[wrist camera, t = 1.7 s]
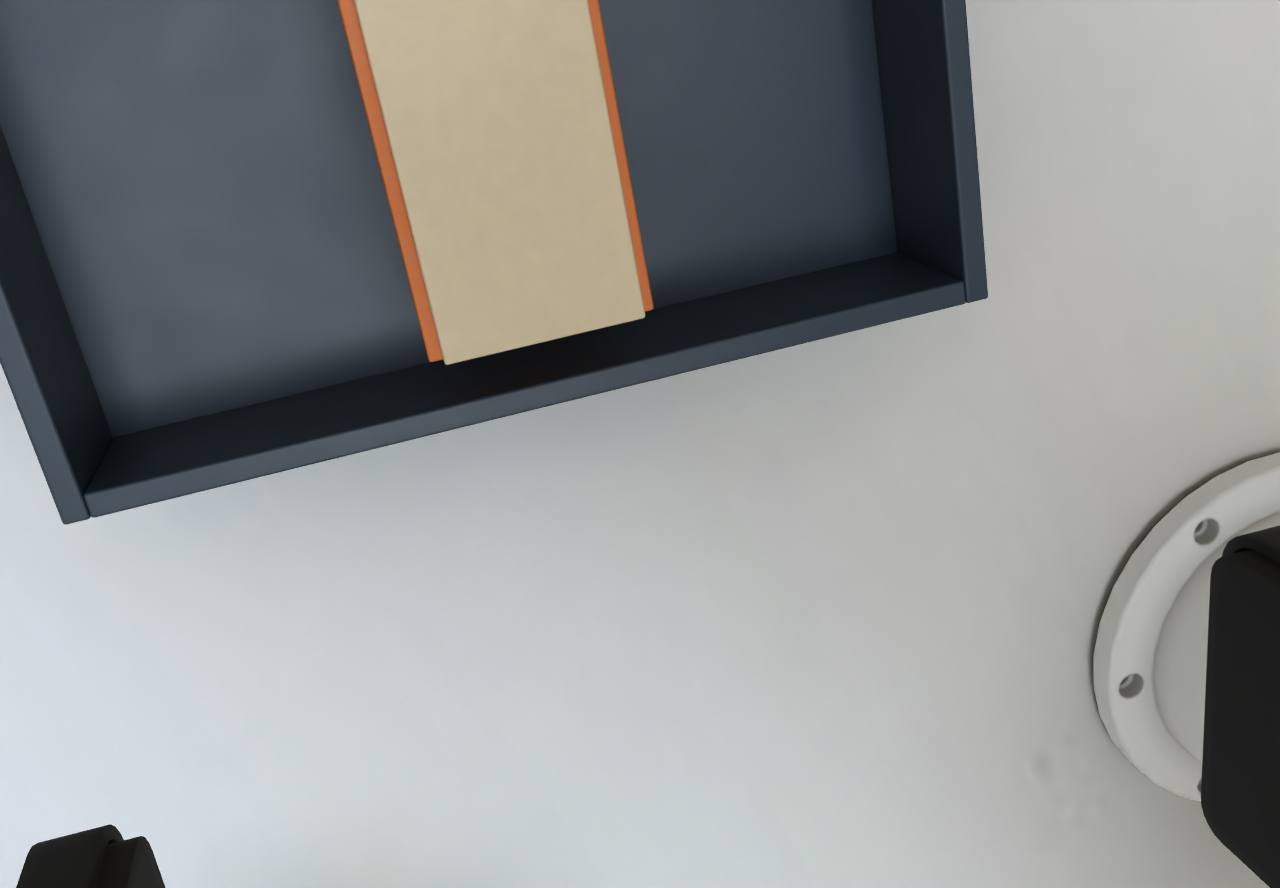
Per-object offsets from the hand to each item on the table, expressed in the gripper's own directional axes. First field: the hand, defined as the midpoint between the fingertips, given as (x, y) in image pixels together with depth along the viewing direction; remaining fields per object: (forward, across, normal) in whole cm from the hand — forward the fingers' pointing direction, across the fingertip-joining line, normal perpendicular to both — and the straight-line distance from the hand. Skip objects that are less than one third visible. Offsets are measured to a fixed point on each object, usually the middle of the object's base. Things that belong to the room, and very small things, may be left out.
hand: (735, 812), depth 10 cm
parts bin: (+23, -1, -5) cm, 24 cm away
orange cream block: (+23, -1, -5) cm, 23 cm away
